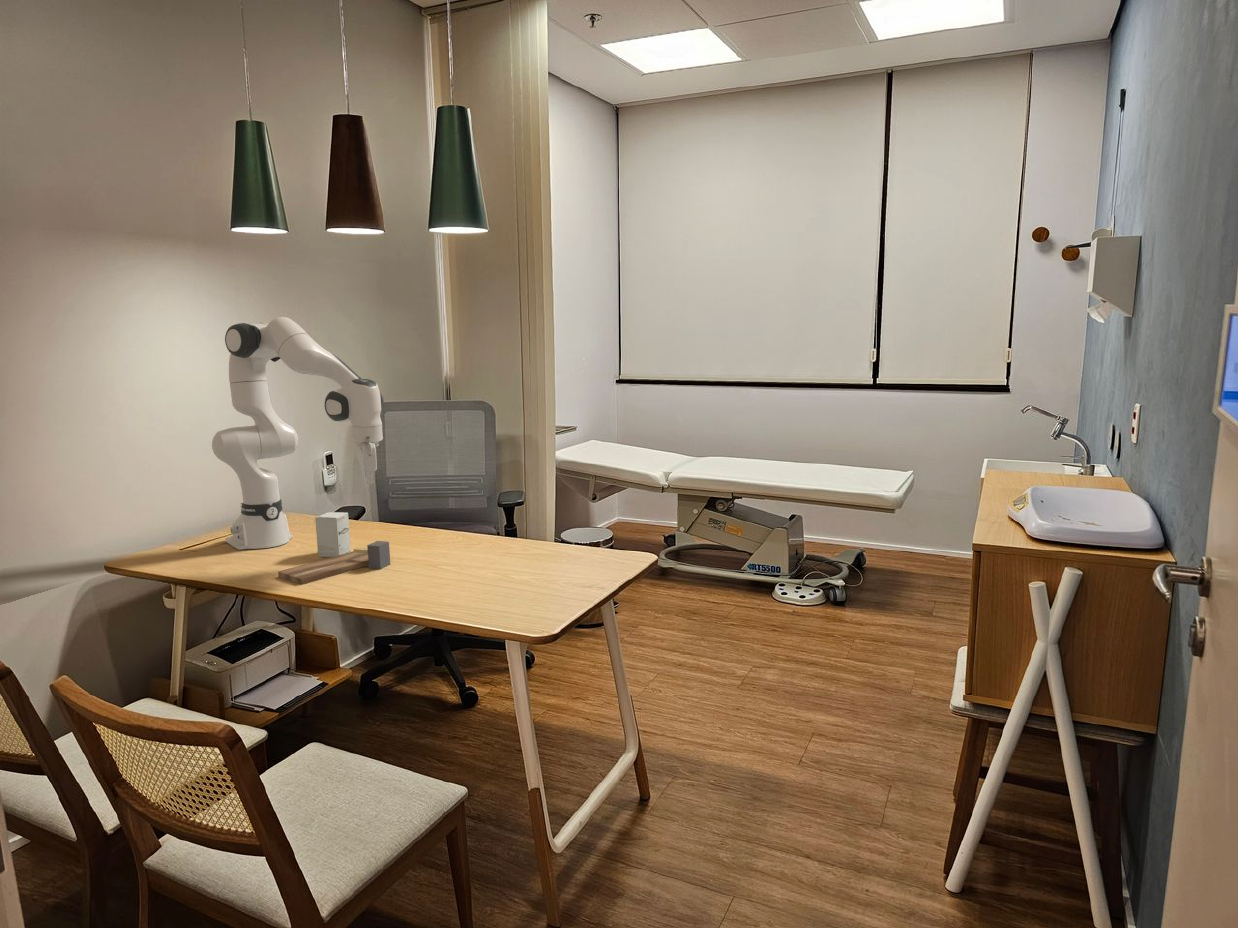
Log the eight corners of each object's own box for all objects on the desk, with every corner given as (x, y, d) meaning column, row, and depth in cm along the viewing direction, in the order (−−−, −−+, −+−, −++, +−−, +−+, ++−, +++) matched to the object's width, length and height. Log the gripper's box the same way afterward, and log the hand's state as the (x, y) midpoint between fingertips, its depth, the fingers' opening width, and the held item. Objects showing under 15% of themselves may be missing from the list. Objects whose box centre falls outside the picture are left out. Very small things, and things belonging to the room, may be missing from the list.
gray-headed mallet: (351, 566, 238) (349, 543, 237) (361, 562, 243) (359, 539, 242) (380, 569, 235) (379, 546, 234) (390, 564, 240) (388, 541, 239)
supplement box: (339, 557, 248) (336, 517, 246) (317, 556, 249) (314, 516, 247) (351, 551, 255) (348, 512, 253) (330, 550, 256) (327, 511, 254)
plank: (278, 576, 230) (277, 571, 229) (362, 553, 251) (362, 548, 251) (301, 584, 222) (301, 578, 222) (386, 560, 244) (386, 554, 244)
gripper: (380, 439, 229) (383, 487, 232) (375, 428, 248) (378, 472, 251) (357, 441, 227) (360, 488, 230) (354, 429, 246) (357, 474, 249)
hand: (369, 480), depth 241 cm, fingers open, 8 cm apart
